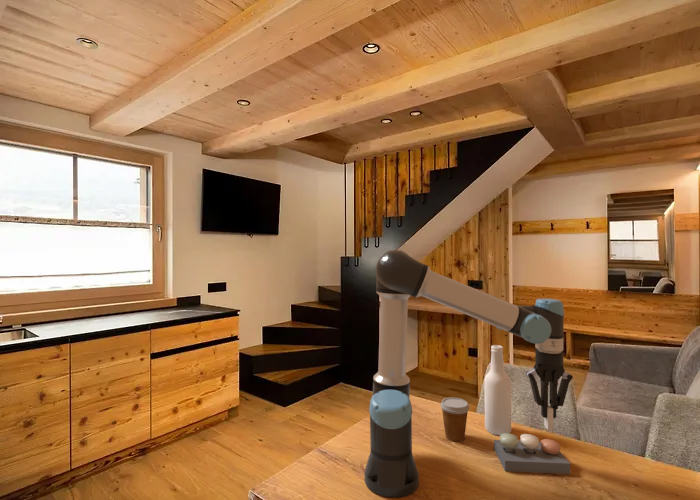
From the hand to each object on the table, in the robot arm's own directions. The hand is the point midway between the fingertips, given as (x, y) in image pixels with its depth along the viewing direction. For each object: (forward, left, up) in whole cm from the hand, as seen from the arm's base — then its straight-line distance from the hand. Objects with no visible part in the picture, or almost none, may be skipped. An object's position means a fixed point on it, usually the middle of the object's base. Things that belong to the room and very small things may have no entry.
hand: (548, 427), depth 114 cm
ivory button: (-6, 0, -8) cm, 10 cm away
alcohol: (-10, +19, -11) cm, 24 cm away
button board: (-6, 0, -10) cm, 12 cm away
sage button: (-12, 0, -8) cm, 14 cm away
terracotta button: (0, 0, -10) cm, 10 cm away
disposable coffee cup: (-26, +13, -11) cm, 31 cm away
